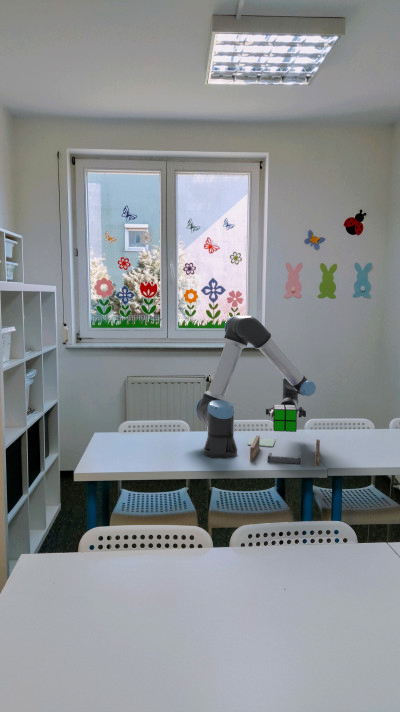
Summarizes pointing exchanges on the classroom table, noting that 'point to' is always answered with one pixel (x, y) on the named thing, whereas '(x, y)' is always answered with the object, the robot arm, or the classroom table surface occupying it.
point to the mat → (263, 442)
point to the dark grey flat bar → (284, 459)
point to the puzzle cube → (285, 418)
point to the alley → (255, 448)
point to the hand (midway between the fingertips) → (284, 416)
